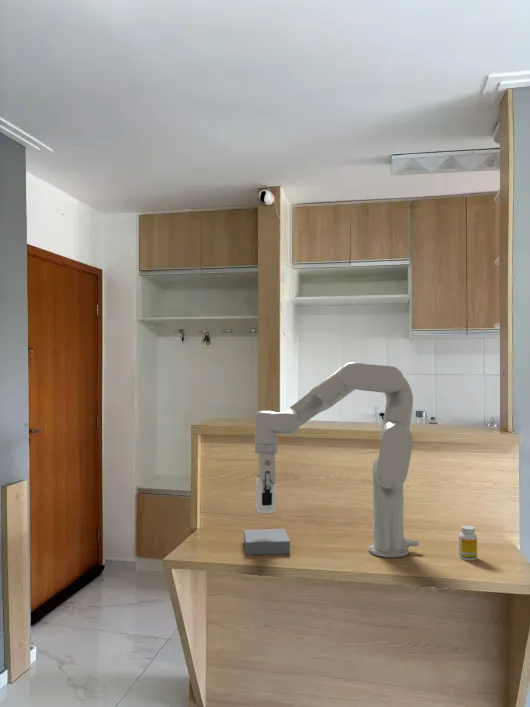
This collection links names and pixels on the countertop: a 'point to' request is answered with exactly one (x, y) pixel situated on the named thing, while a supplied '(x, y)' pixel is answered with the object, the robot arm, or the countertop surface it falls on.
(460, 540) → the supplement bottle
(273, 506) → the can
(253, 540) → the base block
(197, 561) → the countertop surface
